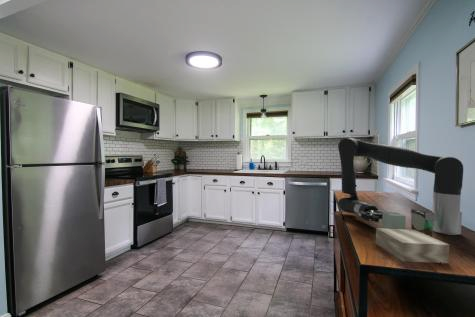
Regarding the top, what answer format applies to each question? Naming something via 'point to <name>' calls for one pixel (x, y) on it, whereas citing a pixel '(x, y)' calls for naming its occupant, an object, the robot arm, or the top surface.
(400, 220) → the sage block
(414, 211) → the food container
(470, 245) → the top surface
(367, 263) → the top surface
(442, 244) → the birch block
